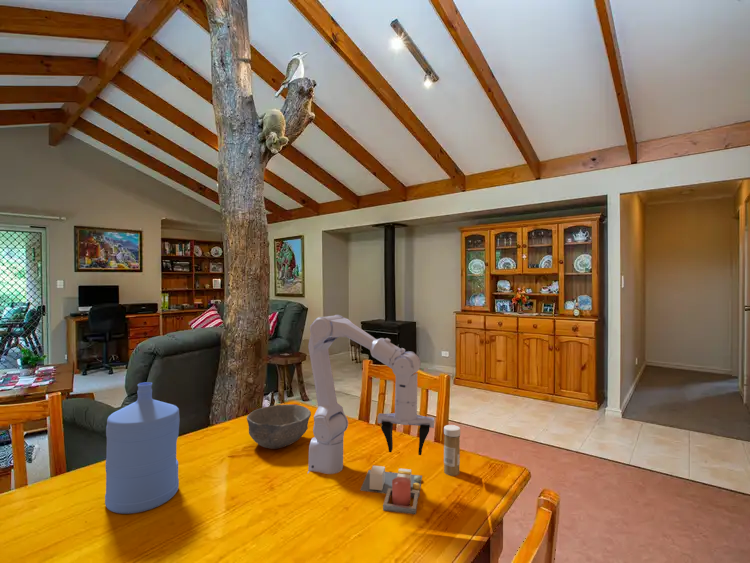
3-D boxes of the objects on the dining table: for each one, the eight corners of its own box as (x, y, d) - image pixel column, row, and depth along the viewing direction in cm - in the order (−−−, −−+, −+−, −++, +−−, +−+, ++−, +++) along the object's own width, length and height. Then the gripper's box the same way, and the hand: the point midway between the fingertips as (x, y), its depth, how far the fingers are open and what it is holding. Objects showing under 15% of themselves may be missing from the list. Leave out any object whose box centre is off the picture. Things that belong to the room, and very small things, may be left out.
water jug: (147, 519, 88) (149, 394, 88) (87, 511, 91) (89, 390, 91) (191, 484, 103) (193, 378, 103) (139, 478, 106) (141, 374, 106)
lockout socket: (383, 513, 92) (383, 505, 92) (388, 496, 99) (388, 488, 99) (415, 517, 90) (415, 509, 90) (418, 499, 98) (418, 491, 98)
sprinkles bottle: (463, 476, 110) (463, 428, 110) (451, 480, 107) (452, 431, 107) (451, 469, 114) (452, 423, 114) (439, 473, 111) (440, 426, 111)
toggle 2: (396, 492, 99) (397, 475, 99) (398, 483, 103) (399, 467, 103) (409, 493, 98) (409, 477, 98) (411, 484, 102) (411, 468, 102)
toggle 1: (369, 489, 100) (369, 473, 100) (372, 480, 104) (373, 465, 104) (381, 490, 99) (382, 474, 99) (384, 481, 104) (384, 466, 104)
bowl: (282, 427, 144) (282, 400, 144) (323, 441, 132) (323, 411, 132) (232, 445, 127) (233, 415, 127) (274, 464, 115) (275, 430, 115)
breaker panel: (359, 493, 100) (360, 486, 100) (368, 472, 111) (368, 466, 111) (418, 500, 97) (419, 493, 97) (422, 478, 108) (422, 472, 108)
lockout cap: (390, 510, 93) (390, 485, 93) (393, 500, 97) (393, 476, 97) (409, 513, 92) (409, 487, 92) (411, 502, 96) (411, 478, 96)
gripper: (375, 402, 99) (375, 456, 99) (433, 406, 97) (432, 461, 97) (380, 394, 106) (379, 444, 106) (434, 398, 104) (433, 449, 104)
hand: (405, 452), depth 102 cm, fingers open, 7 cm apart
